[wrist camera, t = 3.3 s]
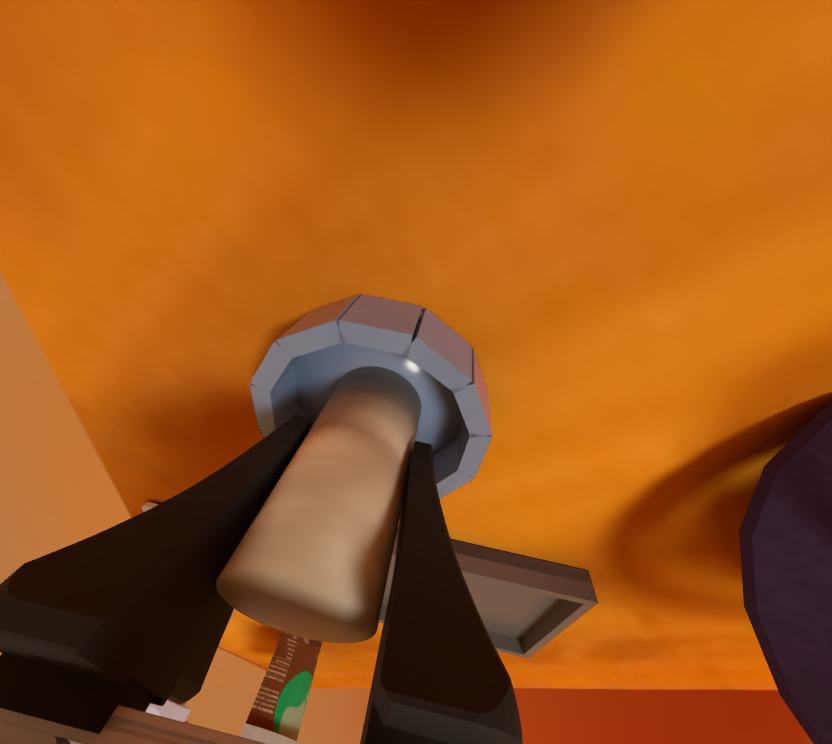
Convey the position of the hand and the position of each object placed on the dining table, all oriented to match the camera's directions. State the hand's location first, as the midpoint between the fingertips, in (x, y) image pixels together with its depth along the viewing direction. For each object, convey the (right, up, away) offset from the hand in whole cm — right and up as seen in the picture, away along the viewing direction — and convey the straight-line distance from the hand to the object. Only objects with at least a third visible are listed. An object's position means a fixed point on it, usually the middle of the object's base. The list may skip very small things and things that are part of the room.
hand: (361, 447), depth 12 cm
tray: (+4, -13, +12) cm, 18 cm away
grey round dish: (0, +2, +3) cm, 3 cm away
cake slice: (-11, -30, +26) cm, 42 cm away
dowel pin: (0, +1, +2) cm, 3 cm away
